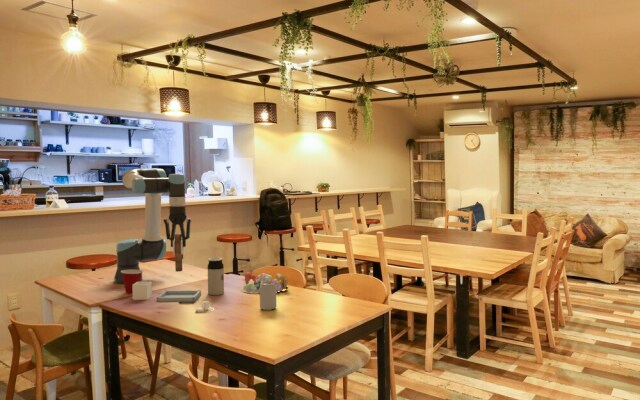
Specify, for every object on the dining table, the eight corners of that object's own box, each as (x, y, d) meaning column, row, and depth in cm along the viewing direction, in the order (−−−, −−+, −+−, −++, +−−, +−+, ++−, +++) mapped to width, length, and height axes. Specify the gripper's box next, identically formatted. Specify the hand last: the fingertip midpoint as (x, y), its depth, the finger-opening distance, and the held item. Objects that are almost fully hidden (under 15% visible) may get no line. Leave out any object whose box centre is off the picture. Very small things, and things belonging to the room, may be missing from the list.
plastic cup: (147, 293, 255) (146, 270, 254) (125, 297, 248) (125, 273, 247) (139, 289, 263) (138, 267, 262) (118, 293, 256) (117, 270, 255)
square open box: (137, 297, 247) (137, 281, 246) (152, 297, 247) (151, 281, 246) (132, 301, 240) (132, 284, 239) (147, 301, 240) (147, 284, 239)
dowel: (176, 270, 244) (175, 233, 243) (183, 270, 244) (182, 233, 243) (174, 271, 241) (173, 234, 240) (181, 271, 241) (180, 234, 240)
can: (279, 307, 228) (278, 281, 227) (272, 311, 221) (271, 285, 220) (264, 306, 230) (263, 280, 230) (257, 310, 223) (256, 284, 223)
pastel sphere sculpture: (282, 283, 278) (281, 266, 277) (294, 292, 256) (294, 275, 255) (237, 287, 269) (237, 270, 269) (247, 297, 247) (246, 279, 247)
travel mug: (204, 294, 252) (204, 259, 251) (213, 291, 259) (213, 256, 258) (218, 296, 249) (217, 260, 248) (227, 292, 256) (226, 257, 255)
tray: (165, 295, 251) (165, 290, 250) (201, 295, 251) (200, 290, 251) (156, 303, 237) (156, 297, 236) (194, 302, 237) (194, 297, 237)
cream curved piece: (197, 314, 219) (196, 305, 219) (192, 309, 226) (192, 301, 226) (216, 311, 223) (216, 302, 223) (211, 307, 230) (211, 298, 230)
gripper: (158, 206, 237) (159, 255, 238) (192, 206, 237) (193, 254, 239) (162, 205, 244) (164, 252, 246) (195, 204, 245) (196, 252, 246)
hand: (178, 253), depth 242 cm, fingers closed on dowel, 3 cm apart
